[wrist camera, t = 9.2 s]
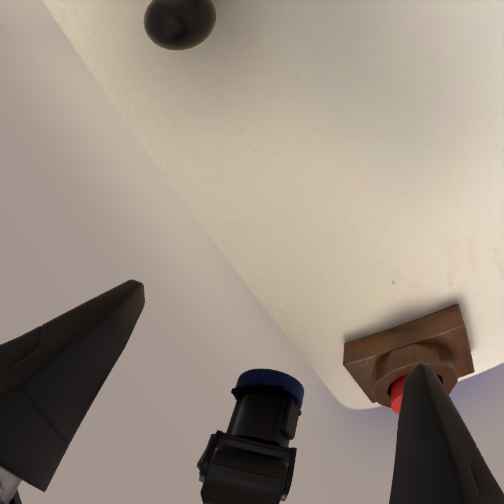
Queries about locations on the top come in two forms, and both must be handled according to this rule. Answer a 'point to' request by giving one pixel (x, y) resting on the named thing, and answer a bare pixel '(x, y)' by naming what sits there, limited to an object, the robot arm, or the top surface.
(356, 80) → the top surface
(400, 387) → the button
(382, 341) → the button block
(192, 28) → the lever
